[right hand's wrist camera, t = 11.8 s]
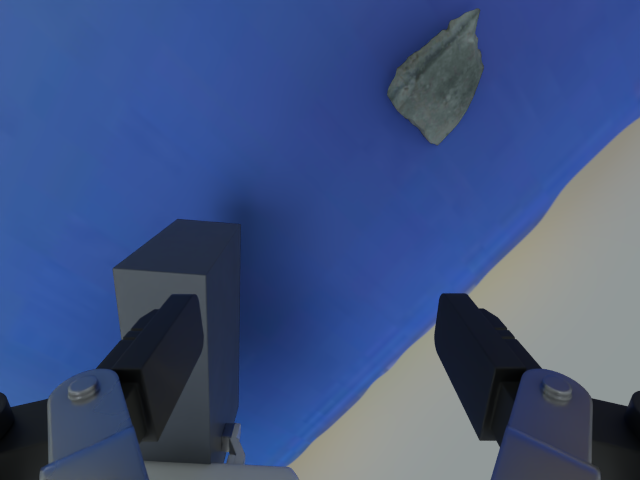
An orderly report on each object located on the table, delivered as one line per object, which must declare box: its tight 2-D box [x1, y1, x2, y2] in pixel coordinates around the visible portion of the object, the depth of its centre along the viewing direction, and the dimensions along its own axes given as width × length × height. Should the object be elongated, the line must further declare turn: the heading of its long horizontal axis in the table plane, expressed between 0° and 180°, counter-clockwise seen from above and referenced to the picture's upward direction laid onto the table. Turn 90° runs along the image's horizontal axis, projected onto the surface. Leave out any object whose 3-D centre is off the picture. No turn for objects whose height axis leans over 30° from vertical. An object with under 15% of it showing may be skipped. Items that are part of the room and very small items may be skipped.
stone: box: [387, 8, 484, 145], centre depth 34 cm, size 11×4×10 cm
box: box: [113, 219, 241, 464], centre depth 30 cm, size 22×6×11 cm, turn 175°
